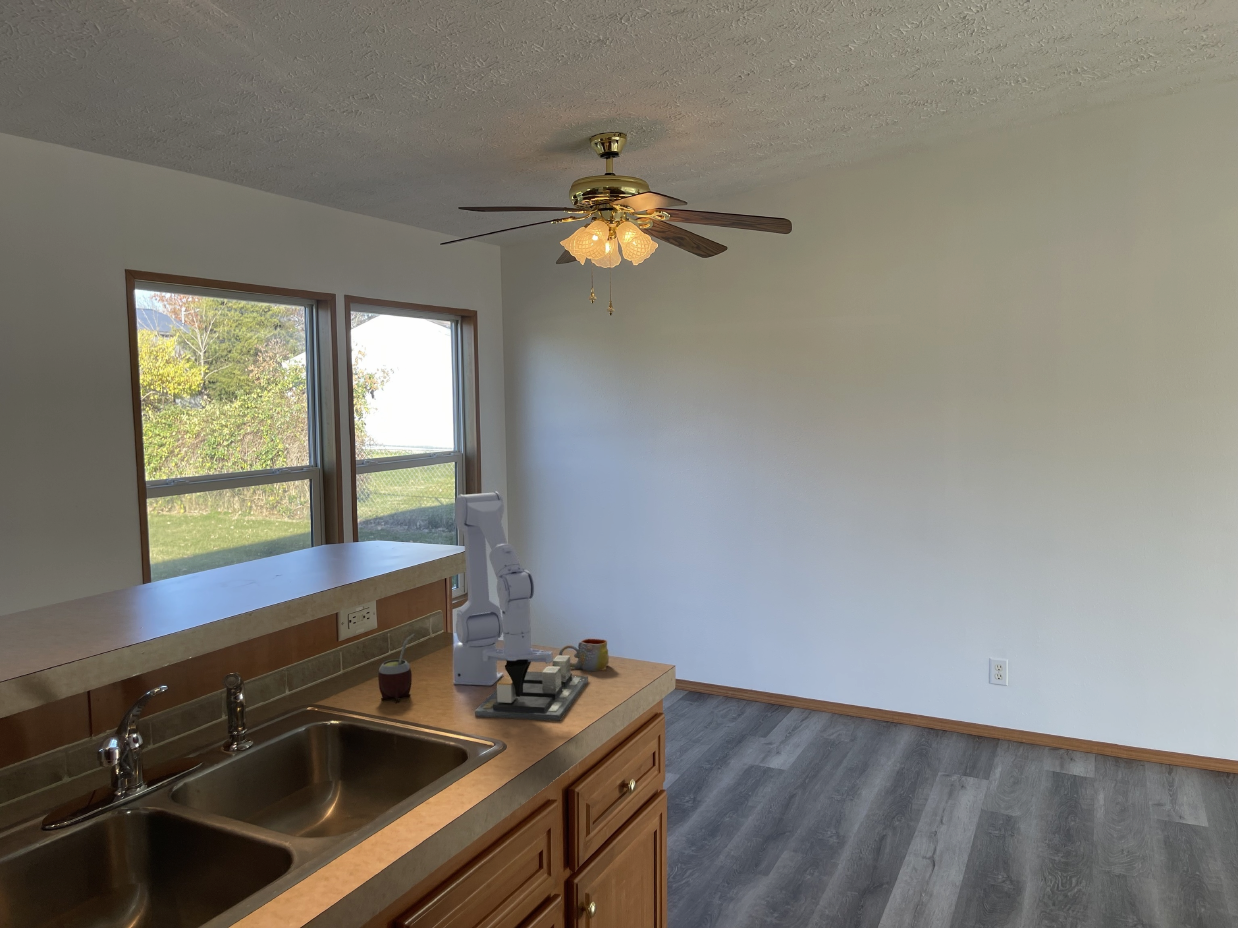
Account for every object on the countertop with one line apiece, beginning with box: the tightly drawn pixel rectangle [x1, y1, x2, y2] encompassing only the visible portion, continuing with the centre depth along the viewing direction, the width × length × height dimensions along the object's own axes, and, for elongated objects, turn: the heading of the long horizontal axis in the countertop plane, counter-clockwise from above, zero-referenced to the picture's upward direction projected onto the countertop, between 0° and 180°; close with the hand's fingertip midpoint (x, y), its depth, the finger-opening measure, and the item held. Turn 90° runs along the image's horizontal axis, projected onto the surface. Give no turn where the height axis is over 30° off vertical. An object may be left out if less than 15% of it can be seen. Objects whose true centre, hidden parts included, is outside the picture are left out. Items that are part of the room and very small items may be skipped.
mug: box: [558, 638, 610, 672], centre depth 200 cm, size 12×7×7 cm, turn 93°
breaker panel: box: [474, 654, 589, 722], centre depth 179 cm, size 18×24×6 cm
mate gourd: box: [377, 632, 416, 704], centre depth 181 cm, size 8×8×15 cm
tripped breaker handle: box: [496, 676, 516, 703], centre depth 172 cm, size 3×4×4 cm
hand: (519, 695), depth 172 cm, fingers closed
